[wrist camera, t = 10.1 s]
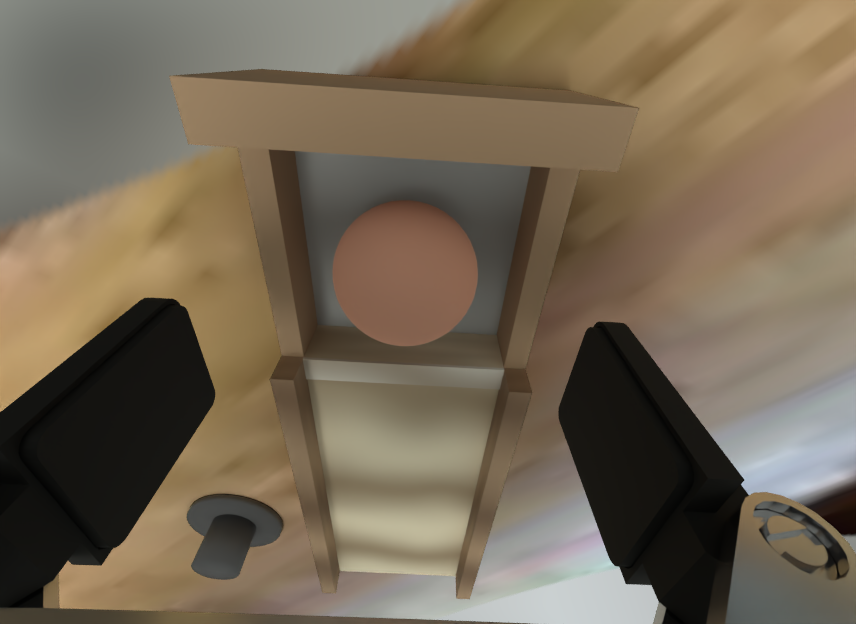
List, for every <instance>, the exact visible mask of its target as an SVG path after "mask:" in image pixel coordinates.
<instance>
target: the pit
mask: <svg viewBox="0 0 856 624" xmlns="http://www.w3.org/2000/svg"><path fill="white" fill-rule="evenodd" d="M170 80H171V84H172V87H173V91H174V95H175V98H176V102H177V105H178V109H179V112H180V116H181V120H182V123H183V127H184V130H185V134H186V137H187V141H188V144H194V145H209V146H225V147H238V152H239V157H240V161H241V166H242V171H243V175H244V180H245V185H246V190H247V194H248V199H249V204H250V208H251V213H252V218H253V223H254V227H255V232H256V237H257V242H258V246H259V251H260V256H261V260H262V265H263V270H264V275H265V279H266V284H267V289H268V293H269V298H270V303H271V308H272V312H273V317H274V322H275V326H276V331H277V336H278V341H279V345H280V350H281V355H282V356H293V357H304V355H305V353H306V351H307V348H308V346H309V344H310V341H311V339H312V337H313V335H314V332H315V330H316V328H317V325H328V326H346V327H356V326H355V325H354V324H353V323H352V322H351V321H350V320H349V319H348V317H347V316H346V314H345V313H344V311H343V310H342V308H341V306H340V304H339V302H338V300H337V297H336V294H335V290H334V285H333V274H332V270H333V260H334V256H335V252H336V249H337V246H338V244H339V242H340V239H341V237H342V236H343V234H344V233H345V231H346V230H347V228H348V227H349V226H350V225H351V224H352V223H353V222H354V220H355V219H357V218H358V217H359V216H360V215H362V214H363V213H365V212H366V211H368V210H370V209H371V208H373V207H375V206H378V205H380V204H383V203H387V202H390V201H398V200H411V201H419V202H423V203H426V204H429V205H432V206H434V207H437V208H439V209H440V210H442V211H444V212H445V213H447V214H448V215H449V216H451V217H452V218H453V219H454V220H455V221H456V222H457V223H458V224H459V225H460V226H461V227H462V229H463V230H464V231H465V233H466V234H467V236H468V238H469V240H470V241H471V244H472V246H473V249H474V252H475V255H476V259H477V267H478V282H477V287H476V292H475V296H474V299H473V301H472V304H471V306H470V307H469V309H468V311H467V313H466V314H465V316H464V317H463V318H462V320H461V321H460V322H459V323H458V324H457V325H456V326H455V327H454V328H453V329H452V330H451V331H449V332H452V333H470V334H487V335H497V339H498V344H499V348H500V353H501V357H502V362H503V366H504V368H512V369H525V368H526V365H527V361H528V358H529V354H530V350H531V347H532V343H533V339H534V336H535V332H536V329H537V325H538V321H539V318H540V314H541V310H542V307H543V303H544V300H545V296H546V292H547V289H548V285H549V281H550V278H551V274H552V271H553V267H554V263H555V260H556V256H557V252H558V249H559V245H560V242H561V238H562V234H563V231H564V227H565V223H566V220H567V216H568V212H569V209H570V205H571V202H572V198H573V194H574V191H575V187H576V183H577V180H578V176H579V173H580V170H593V171H608V172H618V171H619V168H620V165H621V162H622V159H623V156H624V153H625V150H626V147H627V144H628V141H629V138H630V135H631V132H632V129H633V126H634V123H635V120H636V117H637V114H638V111H639V108H637V107H633V106H629V105H625V104H621V103H617V102H614V101H610V100H606V99H602V98H598V97H594V96H590V95H586V94H582V93H578V92H574V91H570V90H555V89H541V88H526V87H512V86H497V85H483V84H468V83H454V82H440V81H425V80H411V79H396V78H382V77H367V76H353V75H338V74H324V73H309V72H295V71H281V70H265V69H257V70H242V71H229V72H215V73H203V74H202V73H201V74H189V75H174V76H170Z"/></svg>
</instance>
